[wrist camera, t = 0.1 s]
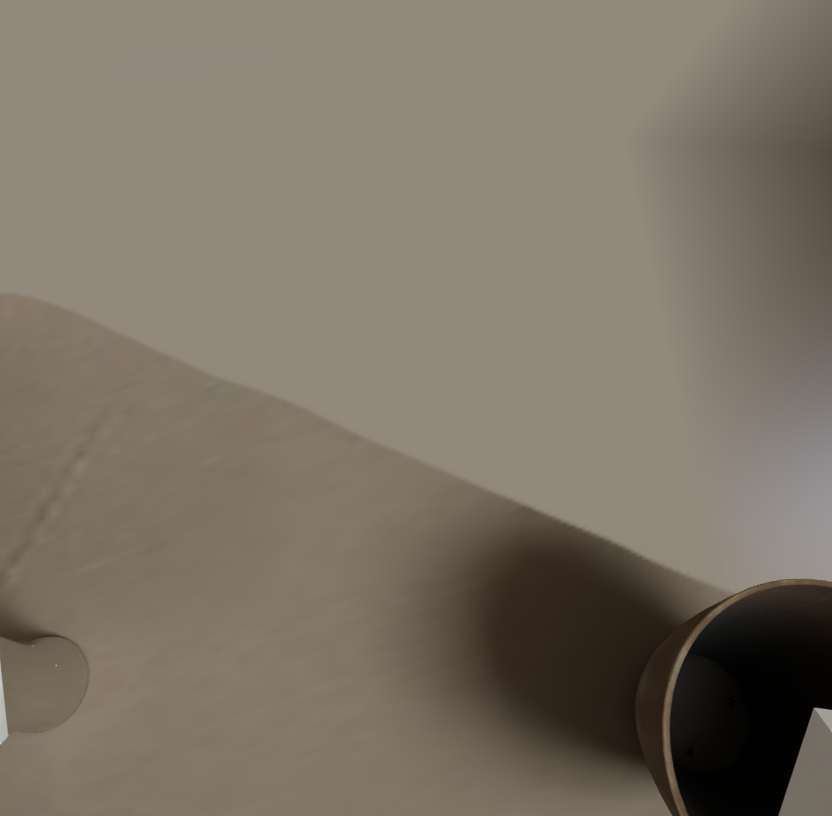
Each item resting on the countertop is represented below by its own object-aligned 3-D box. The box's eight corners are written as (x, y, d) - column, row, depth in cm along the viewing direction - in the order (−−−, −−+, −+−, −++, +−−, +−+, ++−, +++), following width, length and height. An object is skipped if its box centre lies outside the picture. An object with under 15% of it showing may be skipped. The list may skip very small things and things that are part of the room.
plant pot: (690, 898, 39) (859, 1061, 24) (533, 688, 43) (594, 717, 28) (849, 737, 42) (1088, 792, 27) (688, 555, 46) (818, 516, 31)
